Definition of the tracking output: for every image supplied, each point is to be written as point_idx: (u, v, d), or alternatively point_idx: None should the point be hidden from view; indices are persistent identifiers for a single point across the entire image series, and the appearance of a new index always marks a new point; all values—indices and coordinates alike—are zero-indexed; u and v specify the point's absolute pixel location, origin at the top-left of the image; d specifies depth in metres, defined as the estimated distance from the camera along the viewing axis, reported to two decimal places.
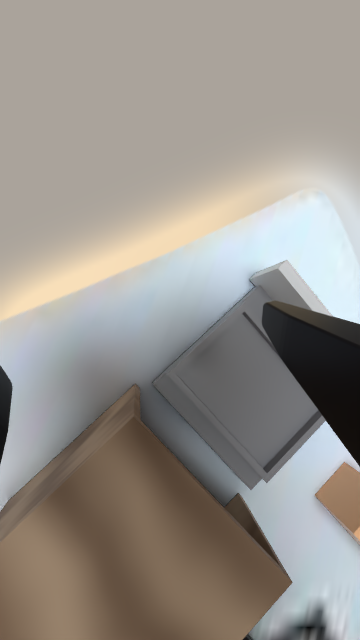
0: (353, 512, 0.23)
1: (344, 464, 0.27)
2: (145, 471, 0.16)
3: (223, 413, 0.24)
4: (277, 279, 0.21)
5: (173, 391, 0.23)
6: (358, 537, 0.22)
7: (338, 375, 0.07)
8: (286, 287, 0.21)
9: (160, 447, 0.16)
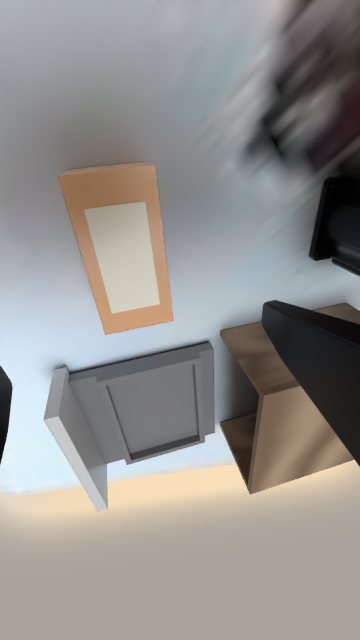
0: None
1: None
2: (267, 475, 0.26)
3: (188, 405, 0.28)
4: (105, 493, 0.27)
5: (207, 426, 0.31)
6: (170, 313, 0.17)
7: (338, 375, 0.07)
8: (103, 492, 0.27)
9: (252, 482, 0.26)
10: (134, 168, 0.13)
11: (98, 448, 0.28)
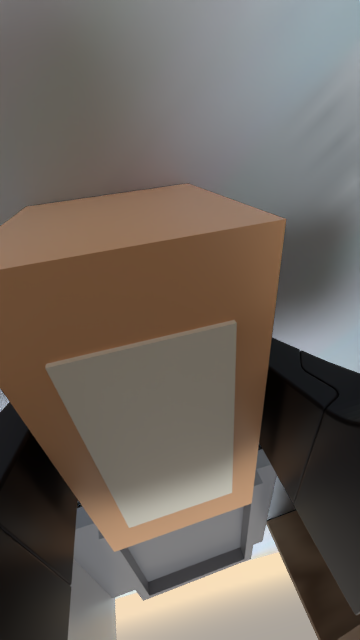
0: None
1: None
2: None
3: (233, 523, 0.19)
4: None
5: (253, 537, 0.22)
6: (249, 495, 0.08)
7: None
8: None
9: None
10: (217, 234, 0.04)
11: (103, 587, 0.19)
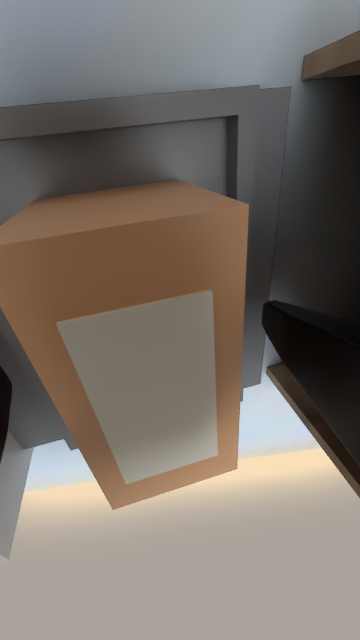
0: None
1: None
2: None
3: None
4: (6, 518, 0.11)
5: (247, 366, 0.14)
6: (234, 460, 0.09)
7: (338, 374, 0.07)
8: None
9: None
10: (193, 215, 0.04)
11: None
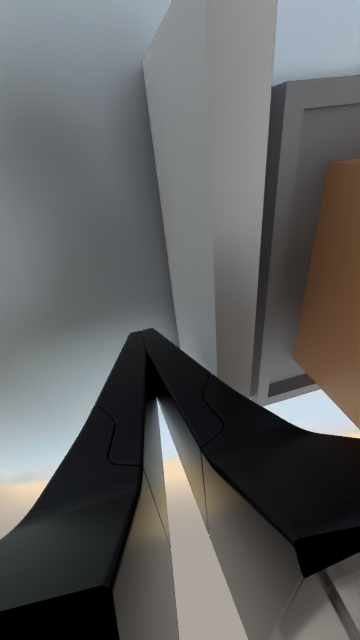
0: None
1: None
2: None
3: None
4: None
5: None
6: None
7: (174, 422, 0.06)
8: None
9: None
10: None
11: None
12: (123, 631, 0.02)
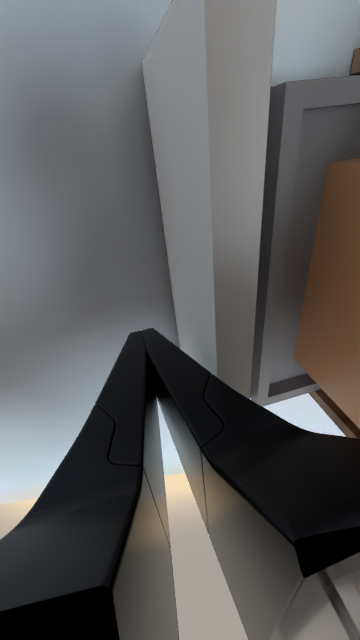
0: None
1: None
2: None
3: None
4: None
5: None
6: None
7: (174, 422, 0.06)
8: None
9: None
10: None
11: None
12: (124, 632, 0.02)
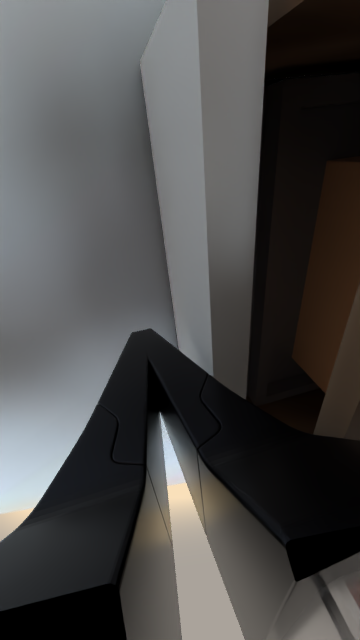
0: None
1: None
2: None
3: None
4: None
5: None
6: None
7: (171, 423, 0.06)
8: None
9: None
10: None
11: None
12: (130, 629, 0.02)
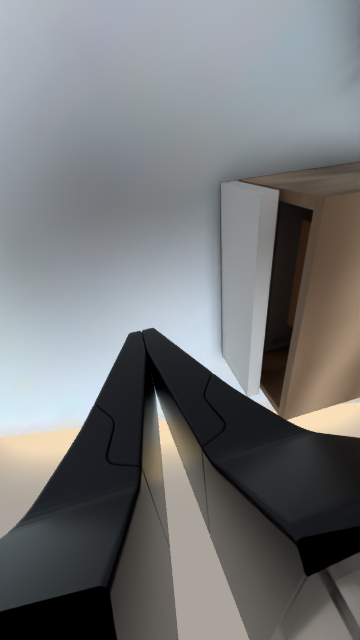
0: None
1: None
2: (310, 387, 0.18)
3: None
4: None
5: None
6: None
7: (175, 422, 0.06)
8: None
9: (288, 398, 0.18)
10: None
11: None
12: (121, 633, 0.02)
